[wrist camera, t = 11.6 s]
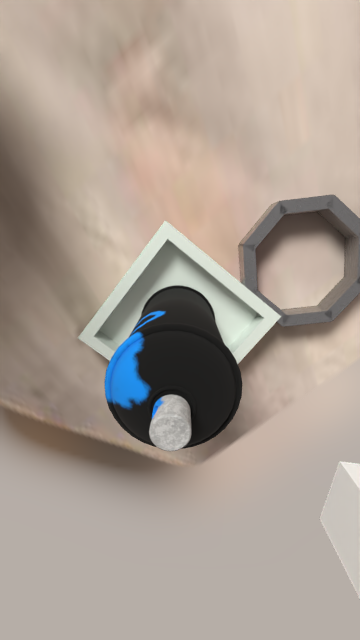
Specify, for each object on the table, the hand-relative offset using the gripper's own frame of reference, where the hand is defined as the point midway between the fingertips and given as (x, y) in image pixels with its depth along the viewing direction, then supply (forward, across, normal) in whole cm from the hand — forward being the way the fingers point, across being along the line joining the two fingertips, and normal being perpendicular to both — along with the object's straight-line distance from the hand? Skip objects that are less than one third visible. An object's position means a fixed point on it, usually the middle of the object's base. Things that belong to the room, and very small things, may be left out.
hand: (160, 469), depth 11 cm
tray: (+23, +1, -1) cm, 23 cm away
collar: (+23, +12, +8) cm, 27 cm away
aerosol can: (+23, +1, -1) cm, 23 cm away
